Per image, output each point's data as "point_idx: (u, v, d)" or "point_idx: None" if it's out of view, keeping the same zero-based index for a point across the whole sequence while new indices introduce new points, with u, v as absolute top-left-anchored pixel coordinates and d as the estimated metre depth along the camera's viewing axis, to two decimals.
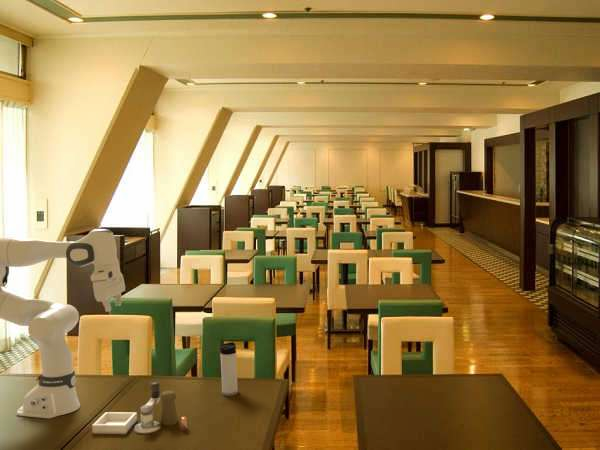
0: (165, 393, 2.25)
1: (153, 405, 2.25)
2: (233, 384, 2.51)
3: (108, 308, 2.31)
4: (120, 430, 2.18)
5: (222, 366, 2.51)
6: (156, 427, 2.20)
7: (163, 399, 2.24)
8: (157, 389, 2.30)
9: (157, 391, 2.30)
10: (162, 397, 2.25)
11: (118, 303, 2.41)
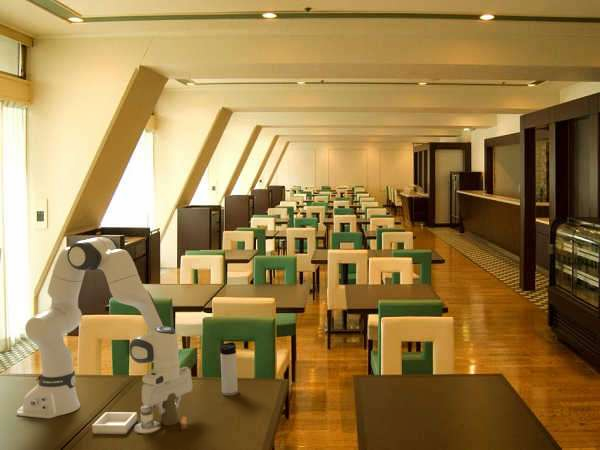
0: None
1: (153, 405, 2.25)
2: (233, 384, 2.51)
3: (161, 410, 2.24)
4: (120, 430, 2.18)
5: (222, 366, 2.51)
6: (156, 427, 2.20)
7: None
8: None
9: None
10: None
11: None
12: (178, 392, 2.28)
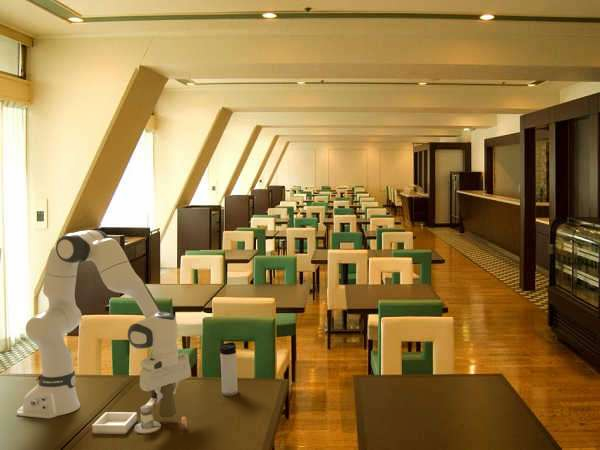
0: None
1: (153, 405, 2.25)
2: (233, 384, 2.51)
3: (159, 396, 2.23)
4: (120, 430, 2.18)
5: (222, 366, 2.51)
6: (156, 427, 2.20)
7: (161, 391, 2.24)
8: None
9: None
10: (161, 389, 2.24)
11: None
12: (176, 378, 2.27)
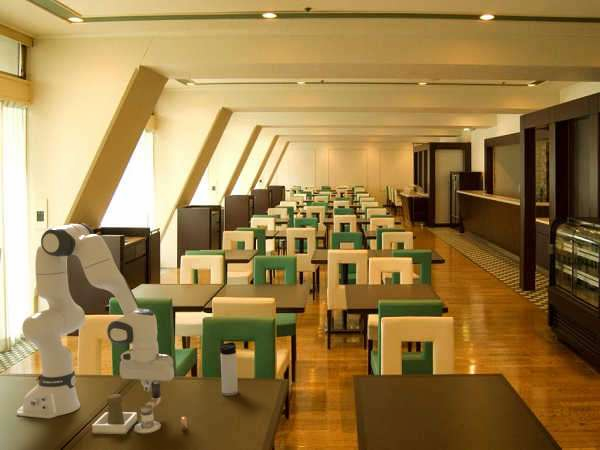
0: (111, 397, 2.21)
1: (153, 405, 2.25)
2: (233, 384, 2.51)
3: None
4: (120, 430, 2.18)
5: (222, 366, 2.51)
6: (156, 427, 2.20)
7: (109, 403, 2.21)
8: (158, 389, 2.30)
9: (158, 391, 2.30)
10: (108, 401, 2.21)
11: None
12: (152, 376, 2.28)
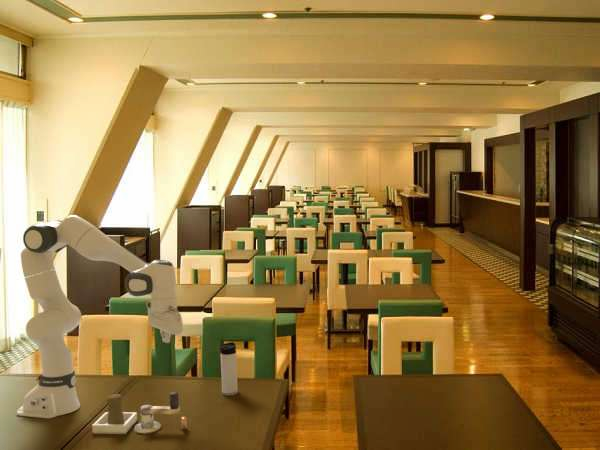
0: (111, 397, 2.21)
1: (155, 410, 2.20)
2: (233, 384, 2.51)
3: None
4: (120, 430, 2.18)
5: (222, 366, 2.51)
6: (156, 427, 2.20)
7: (109, 403, 2.21)
8: (170, 400, 2.19)
9: (170, 402, 2.19)
10: (108, 401, 2.21)
11: None
12: (165, 328, 2.28)
